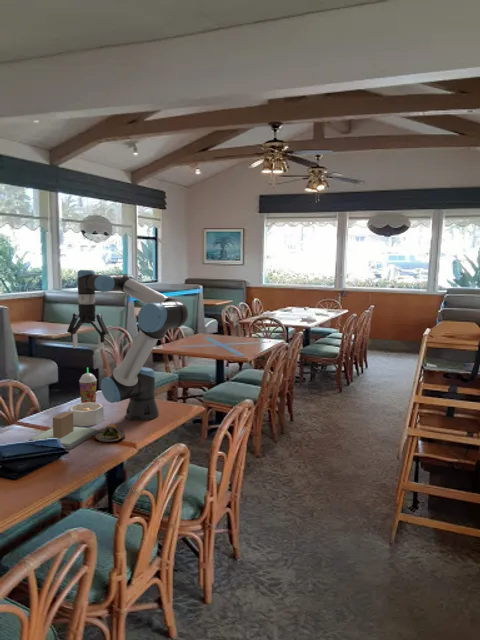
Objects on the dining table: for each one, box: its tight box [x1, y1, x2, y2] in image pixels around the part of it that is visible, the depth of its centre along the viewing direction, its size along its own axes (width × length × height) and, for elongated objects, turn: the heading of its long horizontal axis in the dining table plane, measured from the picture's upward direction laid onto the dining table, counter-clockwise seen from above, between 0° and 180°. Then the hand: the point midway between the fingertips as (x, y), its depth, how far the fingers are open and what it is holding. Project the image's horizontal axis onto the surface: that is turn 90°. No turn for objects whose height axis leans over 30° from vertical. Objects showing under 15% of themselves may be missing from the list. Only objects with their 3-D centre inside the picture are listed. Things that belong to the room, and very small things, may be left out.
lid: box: [29, 411, 96, 446], centre depth 198 cm, size 18×18×9 cm
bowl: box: [68, 402, 105, 427], centre depth 220 cm, size 14×14×6 cm
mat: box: [27, 429, 101, 451], centre depth 198 cm, size 21×21×1 cm
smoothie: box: [78, 367, 98, 403], centre depth 240 cm, size 8×8×20 cm
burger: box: [94, 423, 126, 443], centre depth 198 cm, size 12×12×8 cm
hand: (88, 348), depth 226 cm, fingers open, 13 cm apart
